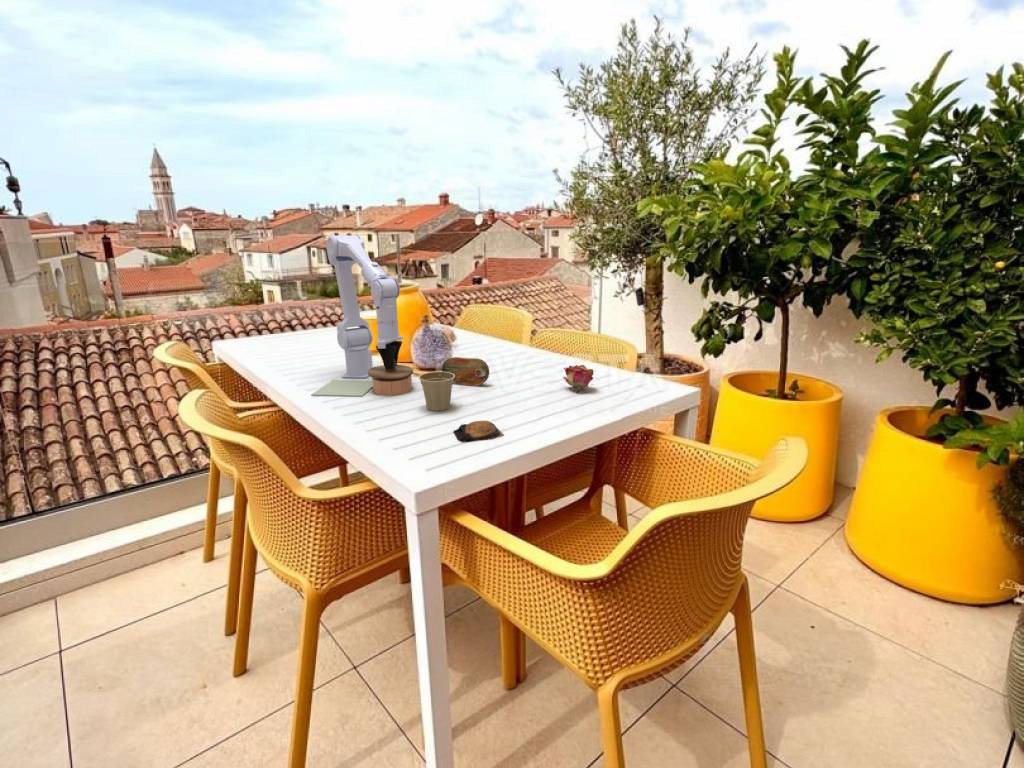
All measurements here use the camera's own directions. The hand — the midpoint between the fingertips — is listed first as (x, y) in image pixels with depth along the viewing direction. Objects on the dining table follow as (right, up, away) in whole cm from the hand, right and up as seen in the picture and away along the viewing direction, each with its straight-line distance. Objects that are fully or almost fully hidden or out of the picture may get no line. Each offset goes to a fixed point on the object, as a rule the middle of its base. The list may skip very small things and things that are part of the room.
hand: (391, 367), depth 145 cm
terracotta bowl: (0, -6, +2) cm, 7 cm away
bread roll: (+28, -17, -31) cm, 45 cm away
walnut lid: (0, -2, +1) cm, 2 cm away
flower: (+55, -7, +1) cm, 56 cm away
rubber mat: (-14, -6, +3) cm, 16 cm away
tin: (+21, -5, +7) cm, 23 cm away
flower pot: (+16, -11, -13) cm, 24 cm away
